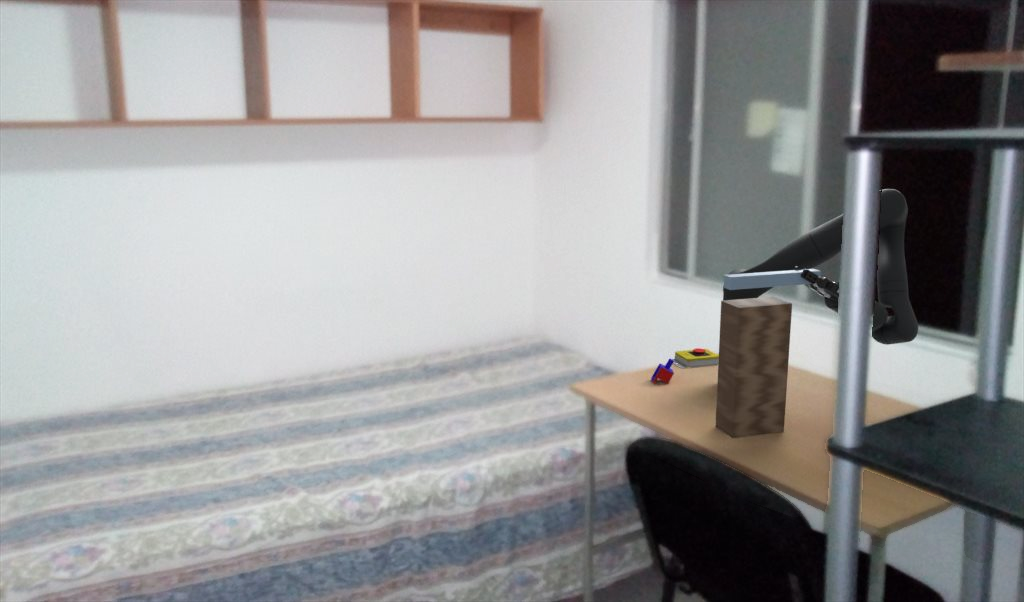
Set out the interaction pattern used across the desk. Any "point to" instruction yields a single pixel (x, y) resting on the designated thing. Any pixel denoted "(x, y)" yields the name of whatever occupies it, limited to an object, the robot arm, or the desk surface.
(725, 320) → the upright
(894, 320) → the robot arm
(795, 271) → the bar
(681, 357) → the emergency button
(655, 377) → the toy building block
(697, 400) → the desk surface
